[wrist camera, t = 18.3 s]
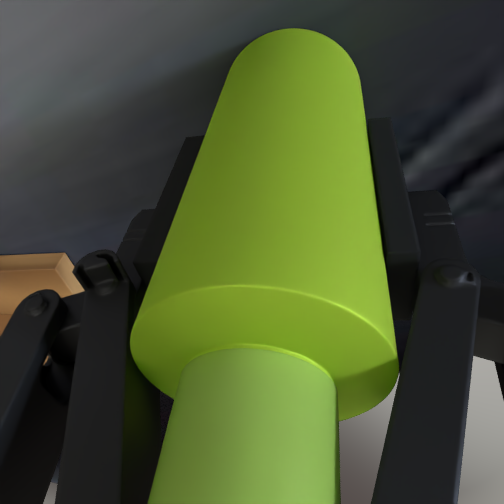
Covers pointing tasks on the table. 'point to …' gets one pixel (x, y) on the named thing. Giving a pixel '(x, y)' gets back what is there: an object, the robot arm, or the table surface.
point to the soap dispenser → (270, 286)
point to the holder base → (33, 279)
